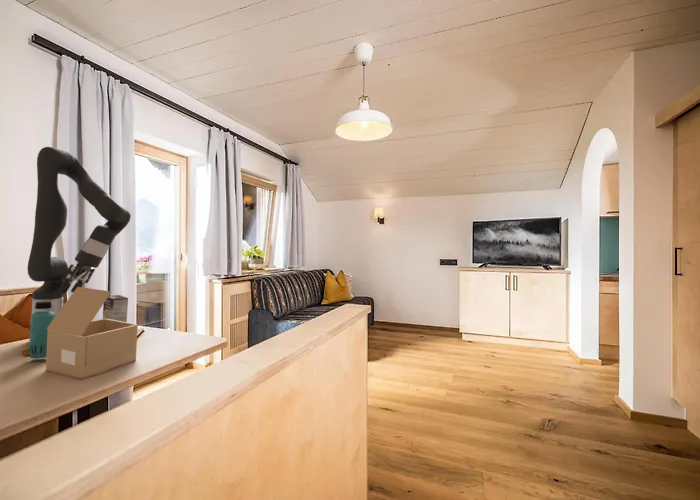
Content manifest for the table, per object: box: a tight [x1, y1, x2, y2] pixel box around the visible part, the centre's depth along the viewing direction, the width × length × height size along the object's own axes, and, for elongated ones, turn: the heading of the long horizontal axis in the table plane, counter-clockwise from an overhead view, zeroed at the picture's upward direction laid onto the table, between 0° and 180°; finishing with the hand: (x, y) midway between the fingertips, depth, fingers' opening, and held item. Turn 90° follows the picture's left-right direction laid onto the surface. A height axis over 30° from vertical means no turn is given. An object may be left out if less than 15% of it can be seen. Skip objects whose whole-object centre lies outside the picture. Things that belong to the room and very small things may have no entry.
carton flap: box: [47, 286, 112, 336], centre depth 108 cm, size 15×15×1 cm
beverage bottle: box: [28, 301, 55, 360], centre depth 115 cm, size 6×7×20 cm
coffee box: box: [102, 294, 129, 322], centre depth 150 cm, size 9×6×16 cm
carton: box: [45, 318, 138, 381], centre depth 113 cm, size 17×18×13 cm
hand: (67, 292), depth 123 cm, fingers open, 8 cm apart
